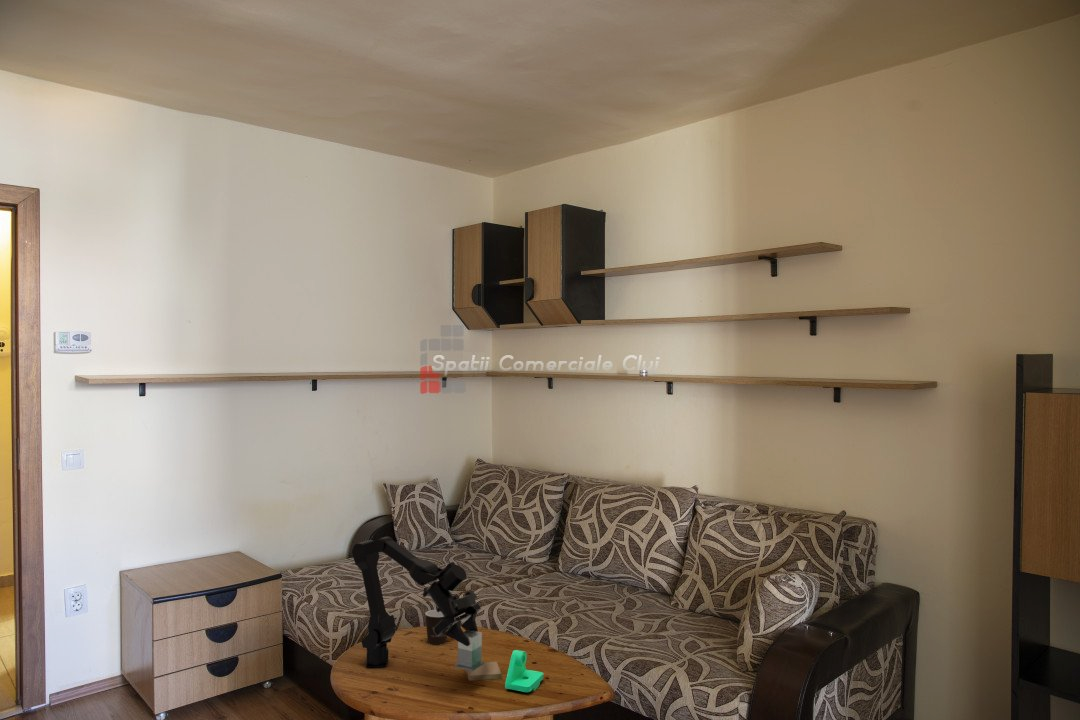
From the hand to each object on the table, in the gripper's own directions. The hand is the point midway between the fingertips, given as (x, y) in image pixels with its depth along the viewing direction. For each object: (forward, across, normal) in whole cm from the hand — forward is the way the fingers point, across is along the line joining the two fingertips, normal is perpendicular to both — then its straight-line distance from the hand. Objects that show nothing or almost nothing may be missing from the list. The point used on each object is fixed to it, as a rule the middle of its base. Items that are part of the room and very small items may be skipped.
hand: (473, 642), depth 219 cm
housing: (+4, 0, +6) cm, 7 cm away
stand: (+8, +11, +11) cm, 17 cm away
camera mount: (+19, +9, 0) cm, 21 cm away
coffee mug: (-12, +27, +31) cm, 43 cm away
